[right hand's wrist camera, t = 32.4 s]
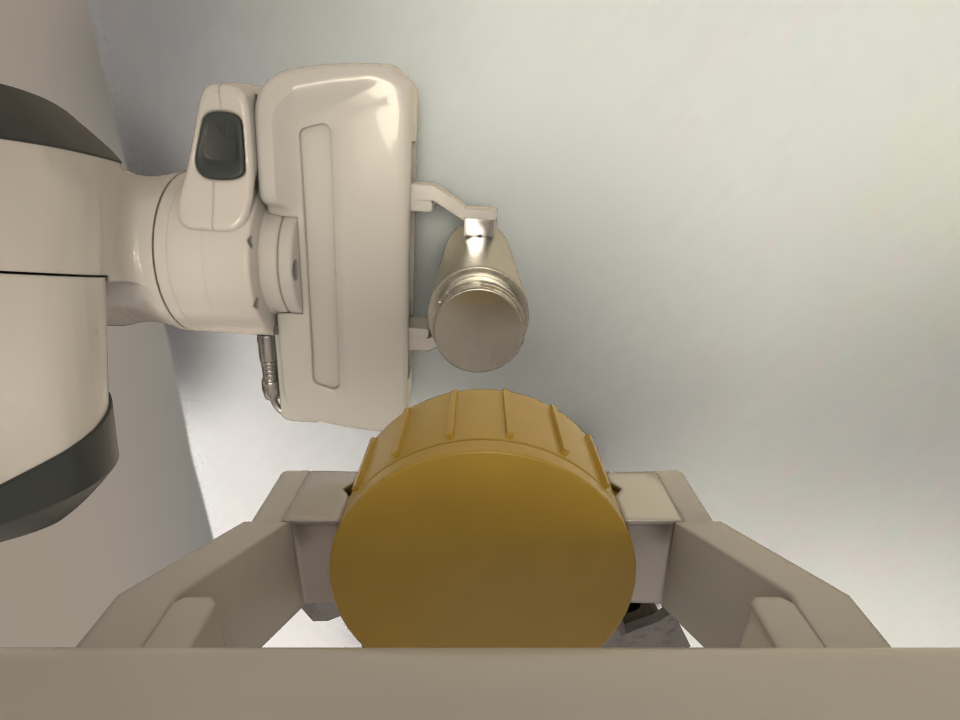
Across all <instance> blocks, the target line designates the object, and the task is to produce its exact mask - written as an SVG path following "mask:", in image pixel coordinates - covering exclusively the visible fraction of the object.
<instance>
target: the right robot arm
mask: <svg viewBox="0 0 960 720" xmlns="http://www.w3.org/2000/svg"><path fill="white" fill-rule="evenodd" d="M357 474H358V472H342V471H286V472H283V473H282V474H281V475H280V477H279V479H278V480H277V482H276V483H275V485H274V487H273V488H272V490H271V492H270V493H269V495H268V496H267V498H266V500H265V501H264V503H263V505H262V506H261V508H260V510H259V511H258V513H257V514H256V516H255V518H254V519H253V521H252V522H243V523H241V524H240V525H238V526H236V527H234V528H233V529H231V530H229V531H228V532H226V533H224V534H222V535H221V536H219V537H217V538H215V539H214V540H212V541H210V542H209V543H207V544H205V545H203V546H202V547H200V548H198V549H197V550H195V551H193V552H191V553H190V554H188V555H186V556H184V557H183V558H181V559H179V560H178V561H176V562H174V563H172V564H171V565H169V566H167V567H165V568H164V569H162V570H160V571H159V572H157V573H155V574H153V575H152V576H150V577H148V578H146V579H145V580H143V581H141V582H140V583H138V584H136V585H134V586H133V587H131V588H129V589H128V590H126V591H124V592H122V593H121V594H119V595H118V596H117V597H116V598H115V600H114V601H113V602H112V603H111V604H110V606H109V607H108V608H107V609H106V611H105V612H104V613H103V614H102V616H101V617H100V618H99V619H98V621H97V622H96V623H95V624H94V625H93V627H92V628H91V629H90V630H89V632H88V633H87V634H86V635H85V636H84V638H83V639H82V640H81V642H80V643H79V644H78V645H77V646H76V648H0V720H960V648H892V647H891V646H890V645H889V644H888V642H887V641H886V640H885V639H884V638H883V636H882V635H881V634H880V633H879V632H878V630H877V629H876V628H875V627H874V625H873V624H872V623H871V622H870V621H869V619H868V618H867V617H866V616H865V614H864V613H863V612H862V611H861V610H860V608H859V607H858V606H857V605H856V603H855V602H854V601H853V600H852V599H851V597H850V596H849V595H847V594H845V593H844V592H842V591H840V590H838V589H837V588H835V587H833V586H831V585H830V584H828V583H826V582H825V581H823V580H821V579H819V578H818V577H816V576H814V575H812V574H811V573H809V572H807V571H805V570H804V569H802V568H800V567H798V566H797V565H795V564H793V563H792V562H790V561H788V560H786V559H785V558H783V557H781V556H779V555H778V554H776V553H774V552H772V551H771V550H769V549H767V548H766V547H764V546H762V545H760V544H759V543H757V542H755V541H753V540H752V539H750V538H748V537H746V536H745V535H743V534H741V533H740V532H738V531H736V530H734V529H733V528H731V527H729V526H727V525H726V524H724V523H722V522H713V521H712V519H711V518H710V516H709V514H708V513H707V511H706V510H705V508H704V507H703V505H702V503H701V502H700V500H699V499H698V497H697V496H696V494H695V492H694V491H693V489H692V488H691V486H690V485H689V483H688V481H687V480H686V478H685V477H684V475H683V474H682V472H680V471H678V470H675V471H653V472H610V473H606V474H607V477H608V479H609V482H610V485H611V487H612V490H613V491H616V492H618V494H617V496H616V500H617V503H618V505H619V508H620V510H621V513H622V516H623V518H624V521H625V523H626V526H627V529H628V531H629V534H630V537H631V540H632V544H633V547H634V551H635V559H636V581H635V586H634V591H633V596H632V599H631V602H630V603H662V605H661V606H662V607H663V608H664V609H665V610H666V611H667V612H668V613H669V614H670V615H671V616H673V617H674V618H675V619H676V620H677V621H678V622H679V623H680V624H681V625H682V626H683V627H684V628H685V629H686V630H687V631H688V632H689V633H690V634H691V635H692V636H693V637H694V638H695V639H696V640H697V641H698V642H699V643H700V644H701V645H702V646H703V647H704V648H261V647H262V646H263V645H264V644H265V643H266V642H267V641H268V640H269V639H270V638H271V637H272V636H273V635H274V634H275V633H276V632H277V631H278V630H280V629H281V628H282V627H283V626H284V625H285V624H286V623H287V622H288V621H289V620H290V619H291V618H292V617H293V616H294V615H295V614H296V613H297V612H298V611H299V610H300V609H301V608H302V607H303V603H335V602H334V599H333V595H332V591H331V586H330V578H329V561H330V551H331V548H332V544H333V541H334V537H335V534H336V532H337V529H338V526H339V524H340V521H341V518H342V516H343V513H344V510H345V508H346V505H347V502H348V500H349V496H350V494H351V492H352V487H353V484H354V481H355V479H356V476H357Z"/></svg>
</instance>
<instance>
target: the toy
mask: <svg viewBox="0 0 960 720" xmlns="http://www.w3.org/2000/svg"><path fill="white" fill-rule="evenodd" d="M302 609H303V610H304V611H305V613H306V614H307V615H308V616H309V617H310V618H311V619H312V620H313V621H329V620H331V619H334V618H336V617H339V616H340V614H339V612H338V609H337V607H336V604H335V603H303V607H302ZM689 647H690V644H689V642H688V640H687V638H686V636H685V634H684V632H683V630H682V628H681V626H680V624H679V622H678V621H677V620H676V619H675V618H674V617H673V616H671V615H670V614H669V613H668V612H667V611H666V610H665V609H664V608H663V607H662V608H661V609H659V610H658V608H657V607H656V605H655V603H630V604H629V607H628V610H627V612H626V614H625V616H624V617H623V619H622V621H621V623H620V624H619V626H618V627H617V629H616V630H615V631H614V633H613V634H612V635H611V636H610V638H609V639H608V640H607V641H606V642H605V643H604V644H603V645H602V646H601V647H600V648H689ZM362 648H365V647H364V646H363V645H362Z"/></svg>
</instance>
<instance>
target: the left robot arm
mask: <svg viewBox="0 0 960 720" xmlns="http://www.w3.org/2000/svg"><path fill="white" fill-rule="evenodd" d="M417 103H418V92H417V87H416V86H415V84H414V83H413V81H412V80H411V79H410V77H409V76H408V75H407V74H406V73H405V72H404V71H403V70H401V69H400V68H399V67H396V66H393V65H388V64H377V63H340V64H324V65H314V66H306V67H298V68H293V69H289V70H285V71H282V72H280V73H278V74H276V75H274V76H273V77H271V78H270V79H269V80H268V81H267V82H266V83H265V84H264V85H263V87H262V88H260V87H257V86H253V85H248V84H241V83H218V84H211V85H209V86H207V87H206V88H205V89H204V91H203V93H202V95H201V98H200V102H199V107H198V113H197V119H196V124H195V130H194V136H193V141H192V146H191V152H190V156H189V161H188V166H187V170H186V171H184V172H177V173H172V174H167V175H162V176H142V175H138V174H135V173H132V172H130V171H127V170H124V169H122V167H121V163H122V162H121V161H120V159H119V158H118V157H117V156H116V155H115V154H114V153H113V152H112V151H111V150H110V149H109V148H108V147H107V146H106V145H105V144H104V143H103V142H102V141H100V140H99V139H98V138H97V137H96V136H95V135H94V134H92V133H91V132H90V131H89V130H88V129H87V128H85V127H84V126H83V125H82V124H81V123H80V122H78V121H77V120H76V119H75V118H74V117H73V116H71V115H70V114H69V113H68V112H67V111H65V110H64V109H62V108H61V107H59V106H57V105H56V104H54V103H52V102H50V101H48V100H46V99H44V98H42V97H40V96H37V95H34V94H32V93H29V92H26V91H23V90H20V89H17V88H14V87H11V86H7V85H3V84H0V542H3V541H6V540H10V539H13V538H17V537H20V536H23V535H26V534H29V533H32V532H35V531H38V530H41V529H43V528H46V527H48V526H51V525H53V524H55V523H57V522H58V521H60V520H62V519H63V518H64V517H65V516H67V515H68V514H69V513H71V512H72V511H73V510H74V509H76V508H77V507H78V506H79V505H80V504H81V503H82V502H83V501H84V500H85V499H86V498H87V497H88V496H89V495H90V494H91V493H92V492H93V491H94V490H95V489H96V488H97V487H98V486H99V485H100V484H101V483H102V481H103V480H104V479H105V478H106V476H107V475H108V474H109V473H110V472H111V470H112V469H113V468H114V466H115V465H116V463H117V461H118V458H119V452H118V444H117V436H116V428H115V420H114V412H113V403H112V398H111V394H110V393H109V391H108V356H107V326H125V325H131V324H135V323H139V322H146V321H155V322H161V323H165V324H168V325H170V326H173V327H176V328H180V329H184V330H191V331H209V332H226V333H239V334H257V342H258V350H259V358H260V363H261V367H262V372H263V373H262V374H263V378H262V390H263V394H264V397H265V399H267V400H270V401H271V403H272V405H273V407H274V408H275V410H276V411H277V412H278V413H280V414H281V415H282V416H283V417H284V418H285V419H287V420H291V421H302V422H319V421H321V422H326V423H330V424H335V425H340V426H346V427H352V428H358V429H365V430H374V431H383V430H384V429H385V427H386V426H387V425H388V424H390V423H391V422H392V421H393V420H394V419H396V418H397V417H398V416H399V415H401V414H402V413H403V411H404V409H405V408H407V407H408V406H409V408H410V405H411V398H412V352H413V350H418V351H429V350H431V349H433V348H435V347H437V346H436V344H435V341H434V339H433V337H432V334H431V332H430V329H429V326H428V321H427V318H419V317H413V303H414V253H415V211H418V212H431V211H432V210H433V208H434V207H435V202H436V203H437V204H439V205H440V206H442V207H443V208H445V209H446V210H448V211H449V212H451V213H452V214H454V215H455V216H457V217H458V218H460V219H461V220H464V236H472V237H474V236H477V235H479V234H480V235H481V236H483V237H487V238H493V237H495V232H496V222H497V208H493V207H483V206H468V205H465V203H464V202H463V201H462V200H460V199H459V198H457V197H456V196H454V195H453V194H451V193H450V192H449V191H447V190H446V189H444V188H443V187H441V186H440V185H438V184H437V183H430V182H416V154H417ZM279 398H280V404H281V405H280V404H279V402H278V400H277V399H279Z"/></svg>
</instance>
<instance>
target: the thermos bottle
mask: <svg viewBox="0 0 960 720" xmlns="http://www.w3.org/2000/svg"><path fill="white" fill-rule="evenodd" d="M528 320H529V310H528V304H527V300H526V297H525V294H524V291H523V288H522V285H521V282H520V279H519V276H518V273H517V269H516V266H515V263H514V260H513V257H512V254H511V251H510V248H509V245H508V242H507V240H506V238H505V236H504V235H503V234H502V232H501V231H500V230H499V229H497V228H496V232H495V237H493V238H487V237H483V236H481V235H480V234H479V235H477V236H474V237H472V236H464V225H462V226H460V227H458V228H457V229H456V230H455V231H454V232H453V233H452V234H451V236H450V237H449V239H448V241H447V244H446V247H445V250H444V254H443V257H442V260H441V263H440V267H439V270H438V273H437V277H436V280H435V283H434V287H433V290H432V293H431V297H430V300H429V304H428V310H427V321H428V326H429V329H430V332H431V334H432V337H433V339H434V341H435V344H436V346H437V348H438V350H439V351H440V353H441V354H442V356H443V357H444V358H445V359H446V360H447V361H448V362H449V363H451V364H452V365H454V366H456V367H457V368H460V369H462V370H465V371H469V372H487V371H491V370H494V369H497V368H499V367H501V366H503V365H504V364H506V363H507V362H509V361H510V360H511V359H512V358H513V357H514V356H515V355H516V354H517V353H518V351H519V349H520V347H521V345H522V344H523V341H524V336H525V332H526V329H527V326H528Z"/></svg>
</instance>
